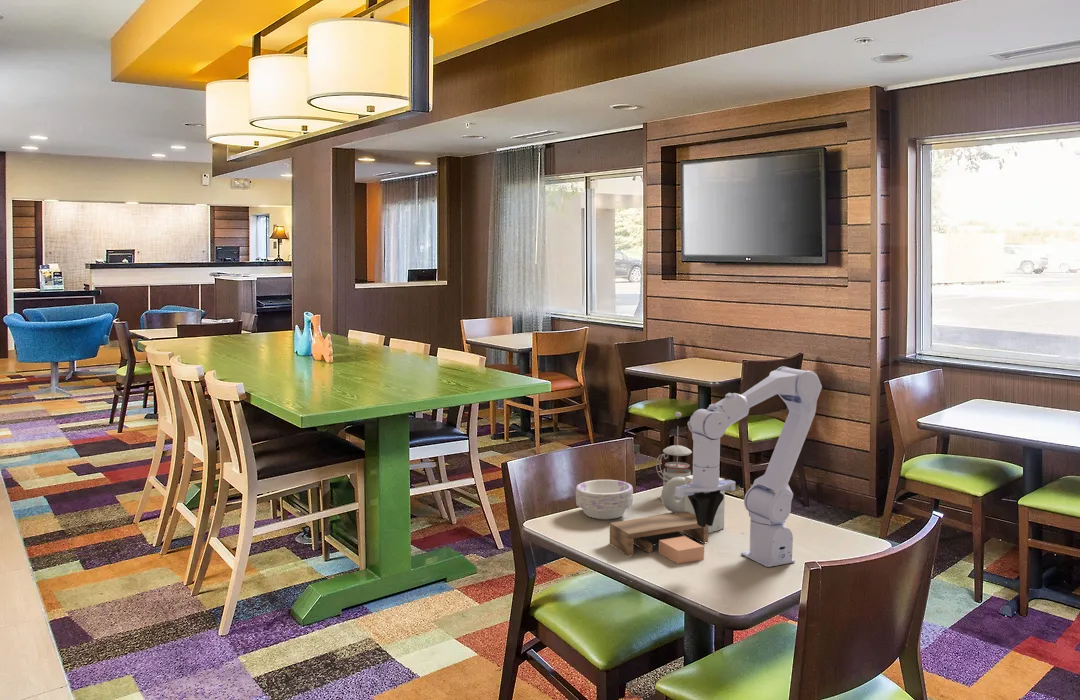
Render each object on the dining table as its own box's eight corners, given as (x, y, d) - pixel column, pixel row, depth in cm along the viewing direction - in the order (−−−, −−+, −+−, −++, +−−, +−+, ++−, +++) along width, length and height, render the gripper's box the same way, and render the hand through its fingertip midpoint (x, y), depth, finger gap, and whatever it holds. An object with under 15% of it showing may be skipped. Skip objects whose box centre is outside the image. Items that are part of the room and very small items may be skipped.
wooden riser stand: (707, 542, 205) (708, 521, 205) (628, 555, 196) (628, 533, 196) (686, 531, 213) (686, 511, 213) (609, 543, 204) (609, 522, 204)
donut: (664, 516, 226) (664, 479, 225) (658, 512, 229) (659, 476, 228) (698, 513, 229) (699, 477, 228) (693, 509, 232) (693, 473, 231)
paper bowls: (568, 509, 233) (568, 480, 232) (620, 504, 237) (621, 476, 236) (586, 525, 218) (586, 495, 217) (641, 521, 222) (641, 491, 221)
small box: (724, 528, 216) (725, 478, 214) (708, 534, 212) (709, 482, 210) (699, 521, 222) (700, 472, 221) (683, 526, 218) (684, 476, 217)
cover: (703, 559, 194) (704, 546, 194) (677, 563, 191) (678, 550, 191) (683, 548, 201) (684, 535, 201) (658, 552, 198) (658, 540, 198)
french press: (681, 505, 236) (682, 416, 233) (647, 497, 244) (648, 411, 241) (700, 498, 243) (702, 411, 240) (667, 490, 251) (668, 406, 248)
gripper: (722, 457, 192) (721, 515, 194) (667, 463, 186) (666, 524, 188) (742, 464, 186) (740, 524, 187) (686, 471, 180) (685, 533, 181)
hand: (704, 525), depth 187 cm, fingers closed
